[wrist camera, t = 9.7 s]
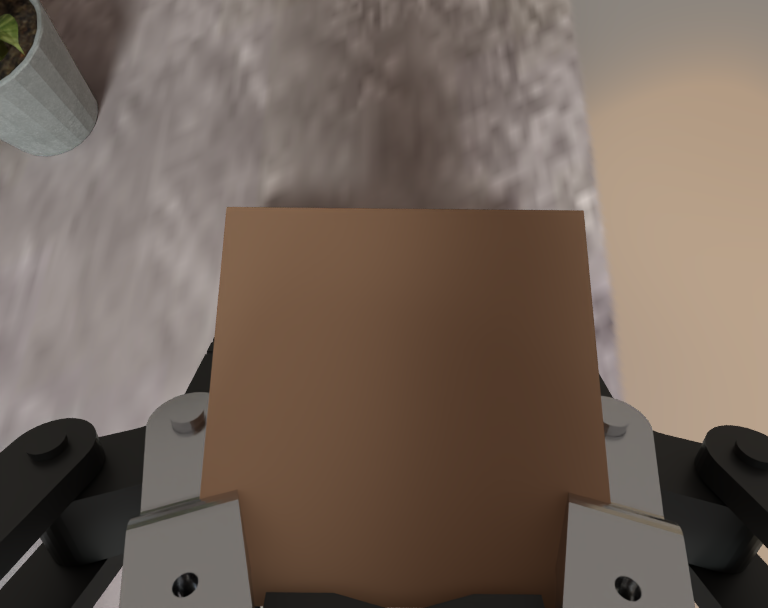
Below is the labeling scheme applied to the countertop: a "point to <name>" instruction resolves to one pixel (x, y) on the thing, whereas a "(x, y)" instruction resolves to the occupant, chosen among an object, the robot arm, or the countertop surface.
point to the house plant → (40, 84)
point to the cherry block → (404, 398)
